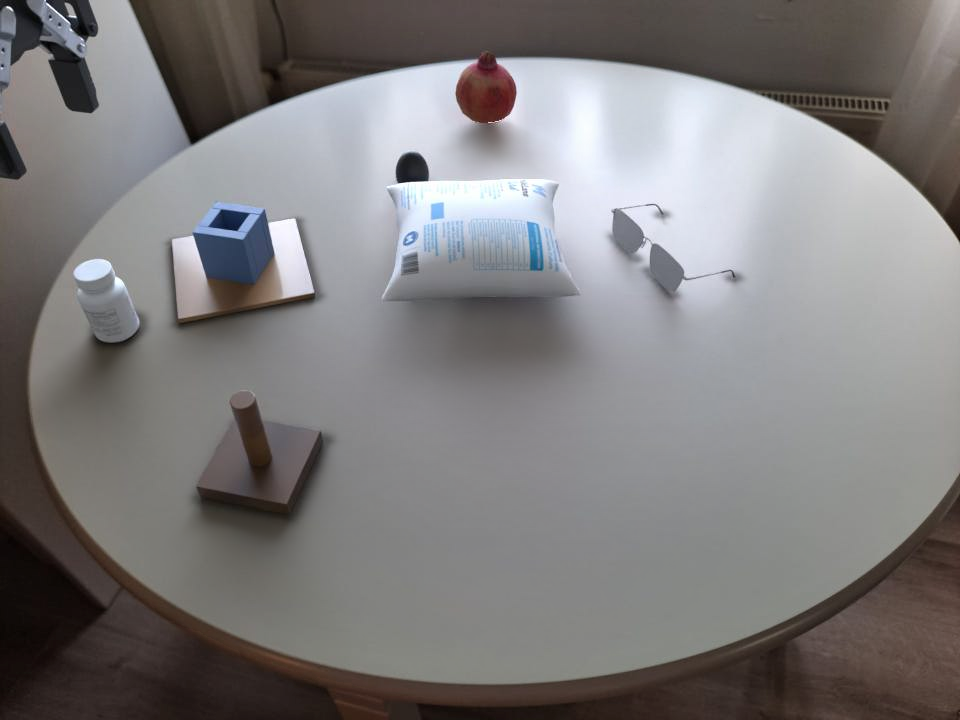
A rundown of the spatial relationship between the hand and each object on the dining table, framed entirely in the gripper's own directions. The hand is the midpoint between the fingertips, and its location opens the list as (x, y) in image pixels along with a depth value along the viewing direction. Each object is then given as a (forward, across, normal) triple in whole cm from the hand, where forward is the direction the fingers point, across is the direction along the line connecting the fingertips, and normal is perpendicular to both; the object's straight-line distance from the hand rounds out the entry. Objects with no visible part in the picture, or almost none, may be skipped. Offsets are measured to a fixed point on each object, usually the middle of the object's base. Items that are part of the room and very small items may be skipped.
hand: (49, 141), depth 54 cm
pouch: (+28, -27, +24) cm, 46 cm away
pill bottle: (+28, -9, -10) cm, 31 cm away
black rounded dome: (+28, -41, +12) cm, 51 cm away
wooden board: (+28, -21, -2) cm, 35 cm away
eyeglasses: (+28, -34, +44) cm, 63 cm away
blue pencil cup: (+27, -21, -2) cm, 35 cm away
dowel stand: (+28, +4, +12) cm, 31 cm away
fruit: (+28, -58, +18) cm, 67 cm away
